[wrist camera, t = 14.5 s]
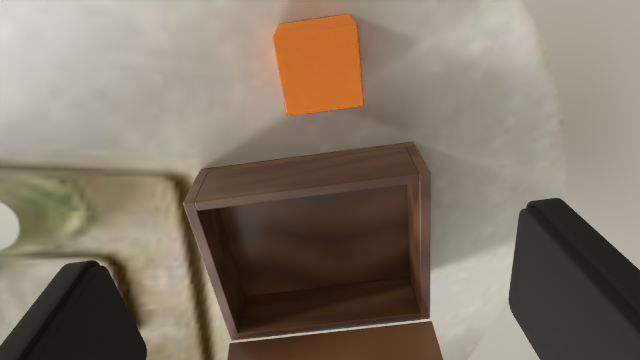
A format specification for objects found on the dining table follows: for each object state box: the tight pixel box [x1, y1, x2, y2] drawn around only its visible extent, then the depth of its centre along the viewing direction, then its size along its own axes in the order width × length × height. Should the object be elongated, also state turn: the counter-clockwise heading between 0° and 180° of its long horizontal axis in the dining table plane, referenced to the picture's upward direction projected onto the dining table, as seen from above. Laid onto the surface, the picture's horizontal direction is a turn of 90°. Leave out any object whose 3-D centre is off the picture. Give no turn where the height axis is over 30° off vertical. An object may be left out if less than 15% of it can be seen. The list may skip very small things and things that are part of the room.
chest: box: [183, 142, 430, 341], centre depth 34 cm, size 15×18×5 cm
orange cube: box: [273, 14, 364, 116], centre depth 27 cm, size 5×5×5 cm
